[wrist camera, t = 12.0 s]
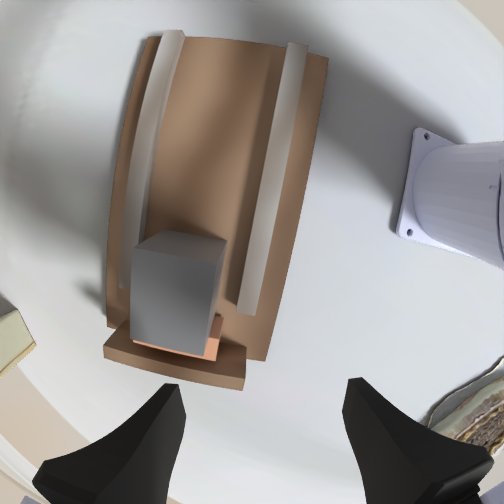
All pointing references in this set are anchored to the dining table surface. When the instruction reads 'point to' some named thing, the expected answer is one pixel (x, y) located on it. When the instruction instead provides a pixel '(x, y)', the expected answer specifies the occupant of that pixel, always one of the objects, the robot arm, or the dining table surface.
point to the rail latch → (211, 344)
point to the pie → (478, 417)
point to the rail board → (214, 184)
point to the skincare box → (13, 341)
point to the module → (175, 290)
